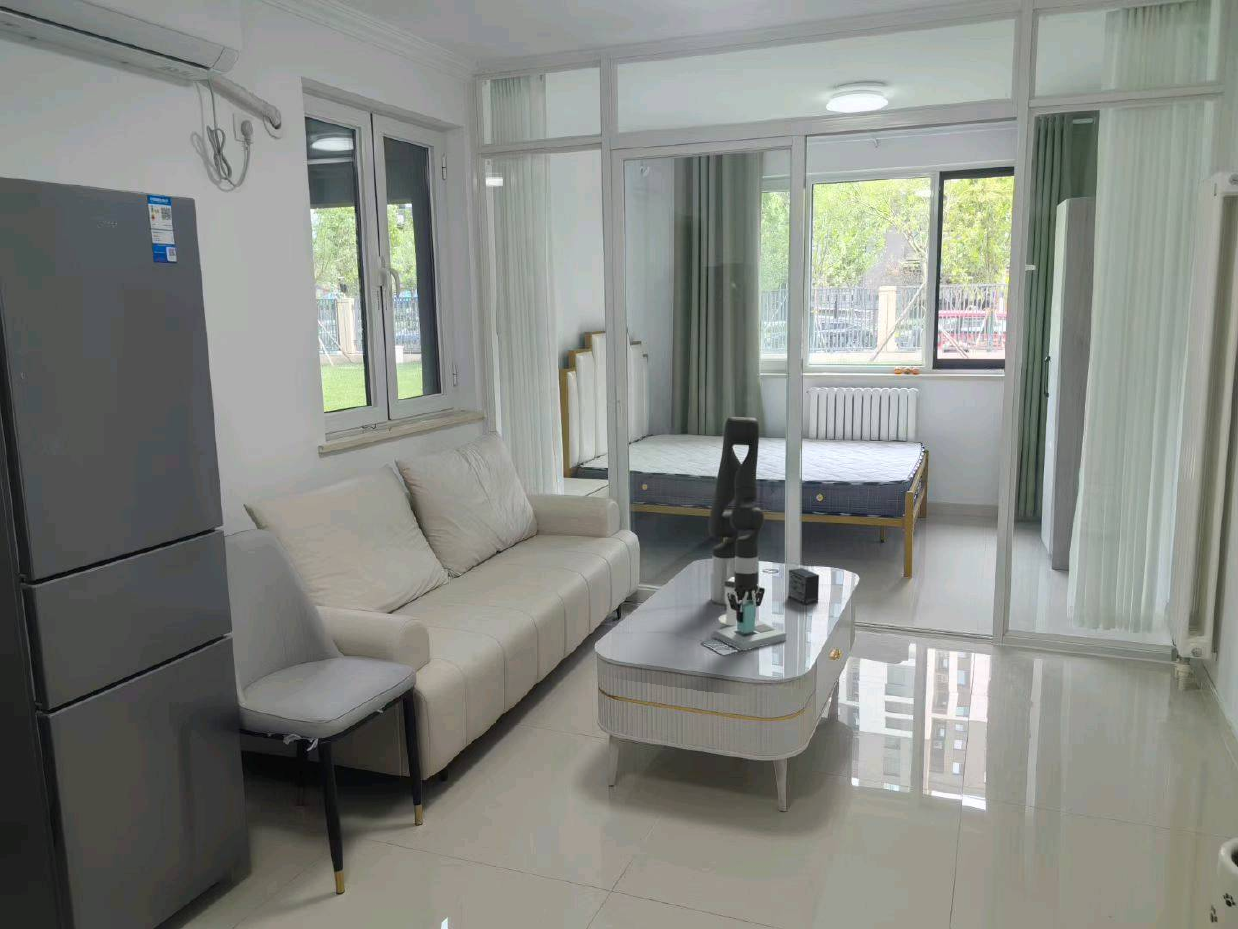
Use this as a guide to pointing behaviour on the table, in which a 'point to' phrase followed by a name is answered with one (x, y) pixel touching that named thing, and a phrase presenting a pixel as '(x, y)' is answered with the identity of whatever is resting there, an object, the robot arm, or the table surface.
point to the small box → (803, 586)
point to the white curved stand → (730, 614)
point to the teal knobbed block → (747, 618)
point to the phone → (717, 644)
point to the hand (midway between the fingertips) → (745, 620)
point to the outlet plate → (751, 636)
